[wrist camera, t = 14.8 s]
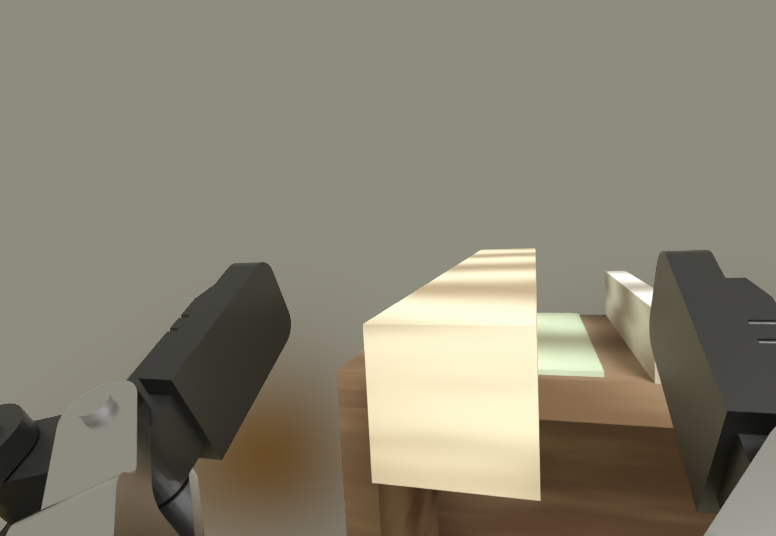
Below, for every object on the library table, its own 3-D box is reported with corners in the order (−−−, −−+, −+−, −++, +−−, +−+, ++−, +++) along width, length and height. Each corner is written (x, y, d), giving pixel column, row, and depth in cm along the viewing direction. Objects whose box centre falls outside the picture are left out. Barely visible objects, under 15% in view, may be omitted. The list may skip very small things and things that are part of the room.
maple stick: (483, 301, 34) (481, 249, 33) (536, 300, 33) (535, 248, 32) (372, 482, 11) (362, 324, 10) (540, 500, 10) (536, 326, 9)
